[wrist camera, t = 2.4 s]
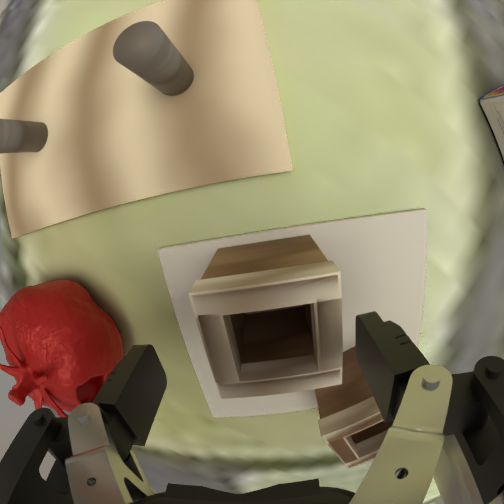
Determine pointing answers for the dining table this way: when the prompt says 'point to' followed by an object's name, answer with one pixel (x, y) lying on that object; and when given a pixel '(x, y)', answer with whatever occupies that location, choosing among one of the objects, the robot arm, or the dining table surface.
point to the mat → (353, 303)
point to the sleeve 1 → (271, 318)
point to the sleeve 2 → (351, 415)
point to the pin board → (142, 112)
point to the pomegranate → (58, 345)
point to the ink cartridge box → (495, 114)
